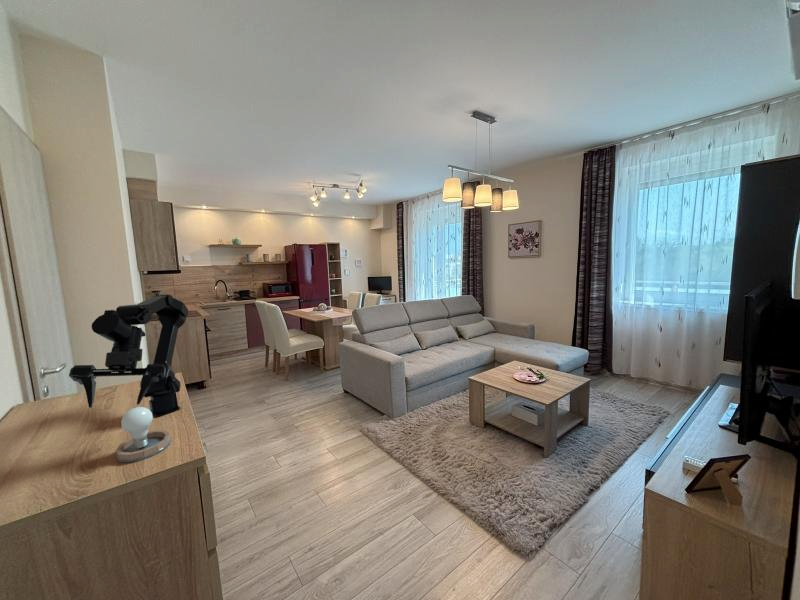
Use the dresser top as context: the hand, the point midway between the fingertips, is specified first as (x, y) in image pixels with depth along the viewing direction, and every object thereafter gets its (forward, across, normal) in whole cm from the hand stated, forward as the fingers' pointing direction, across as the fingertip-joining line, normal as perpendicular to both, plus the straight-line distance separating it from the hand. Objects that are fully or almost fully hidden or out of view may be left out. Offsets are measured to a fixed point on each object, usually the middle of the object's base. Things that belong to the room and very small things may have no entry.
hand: (114, 405), depth 81 cm
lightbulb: (+10, +6, +6) cm, 13 cm away
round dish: (+11, +7, +6) cm, 14 cm away
